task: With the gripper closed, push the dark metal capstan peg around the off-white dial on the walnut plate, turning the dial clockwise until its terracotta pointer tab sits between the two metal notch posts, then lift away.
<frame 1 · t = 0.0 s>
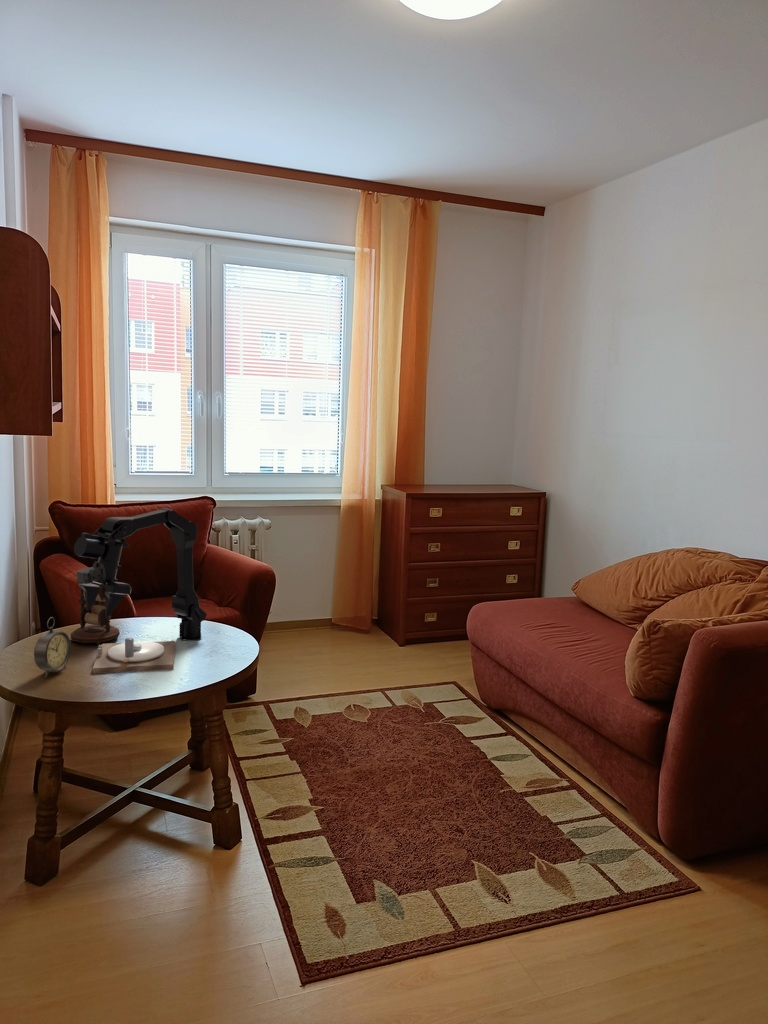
hand: (97, 612, 210), 15 cm above the table, tool pointing down, fingers open, 9 cm apart
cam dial: (135, 643, 216), point 5 cm above the table, hinge at 75.0°
wooden thread spool stand: (95, 640, 233), on the table
stand plate: (136, 658, 218), on the table
alarm clock: (52, 673, 203), on the table
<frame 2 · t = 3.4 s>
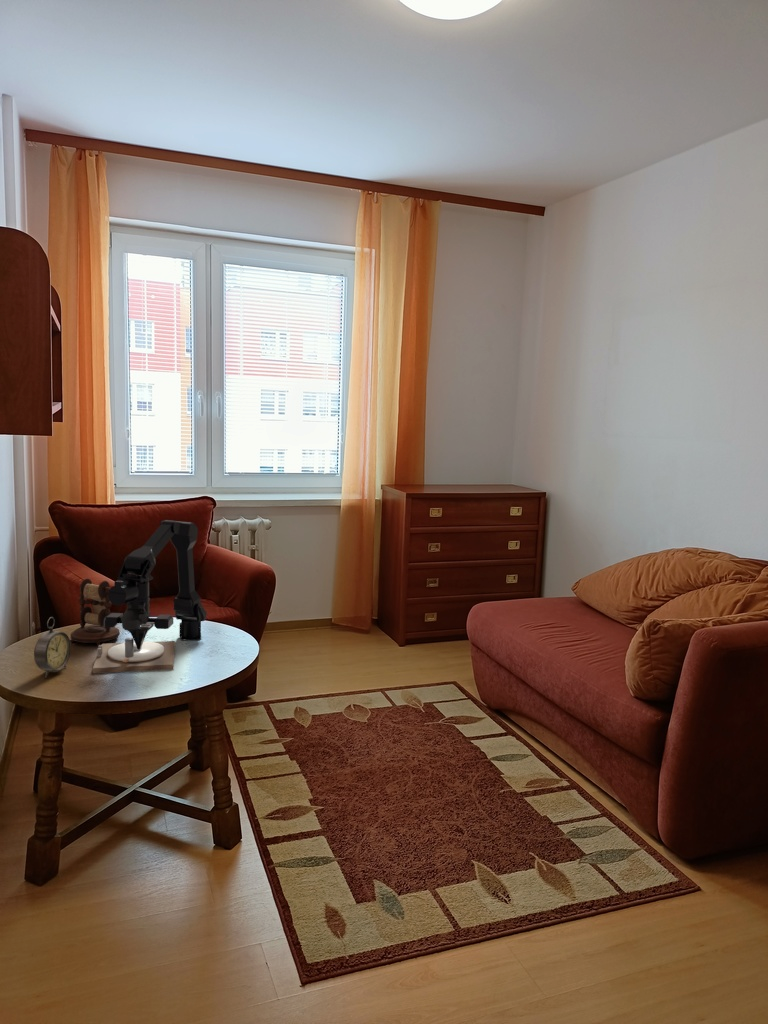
hand: (139, 649, 211), 5 cm above the table, tool pointing down, fingers closed
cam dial: (135, 643, 216), point 5 cm above the table, hinge at 74.9°, touching gripper
everything else where it was.
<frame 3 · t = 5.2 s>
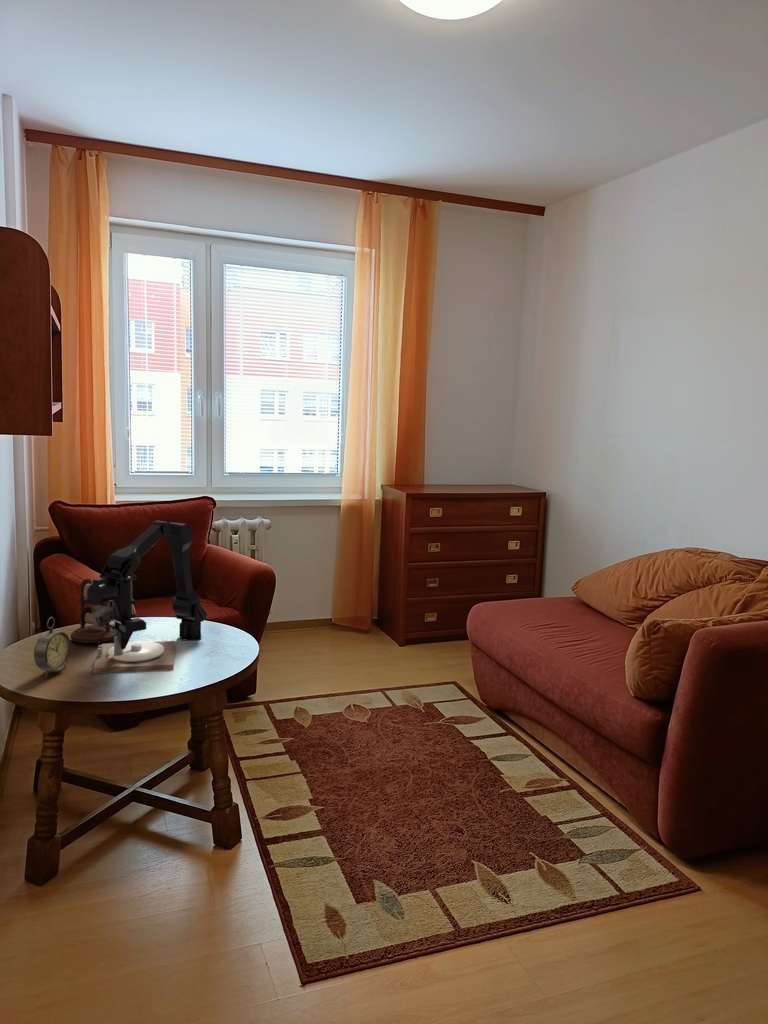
hand: (123, 648, 210), 5 cm above the table, tool pointing down, fingers closed
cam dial: (134, 643, 216), point 5 cm above the table, hinge at 37.5°, touching gripper
everything else where it was.
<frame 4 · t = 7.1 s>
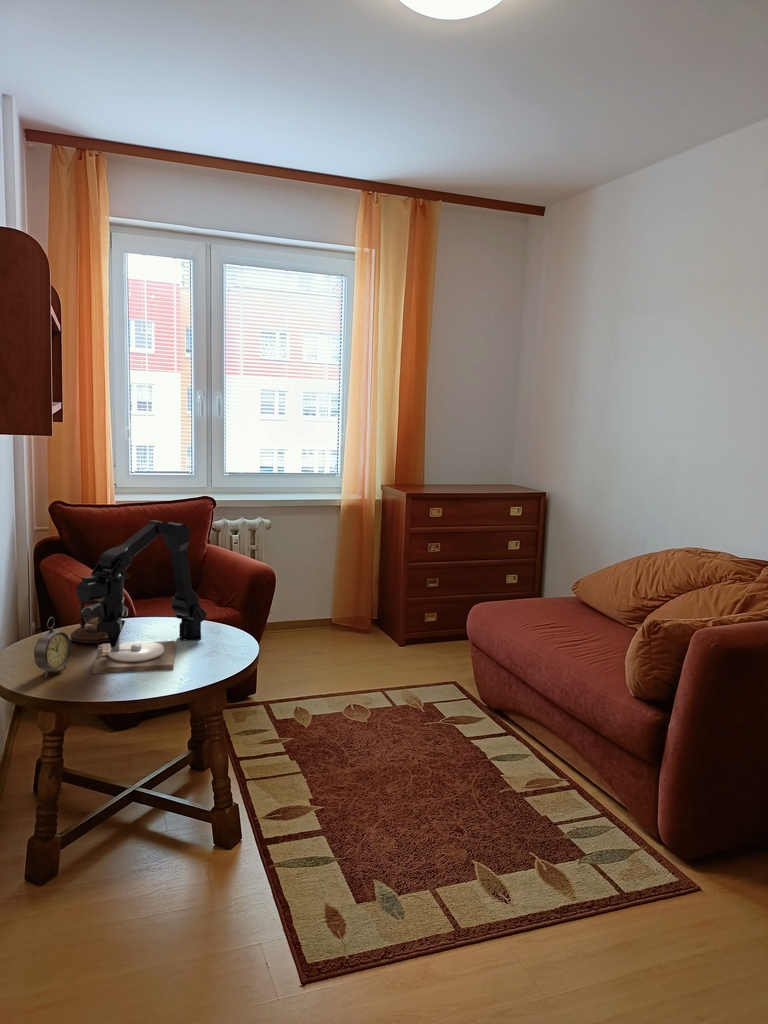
hand: (113, 646, 212), 5 cm above the table, tool pointing down, fingers closed
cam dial: (133, 642, 217), point 5 cm above the table, hinge at 1.2°
everything else where it was.
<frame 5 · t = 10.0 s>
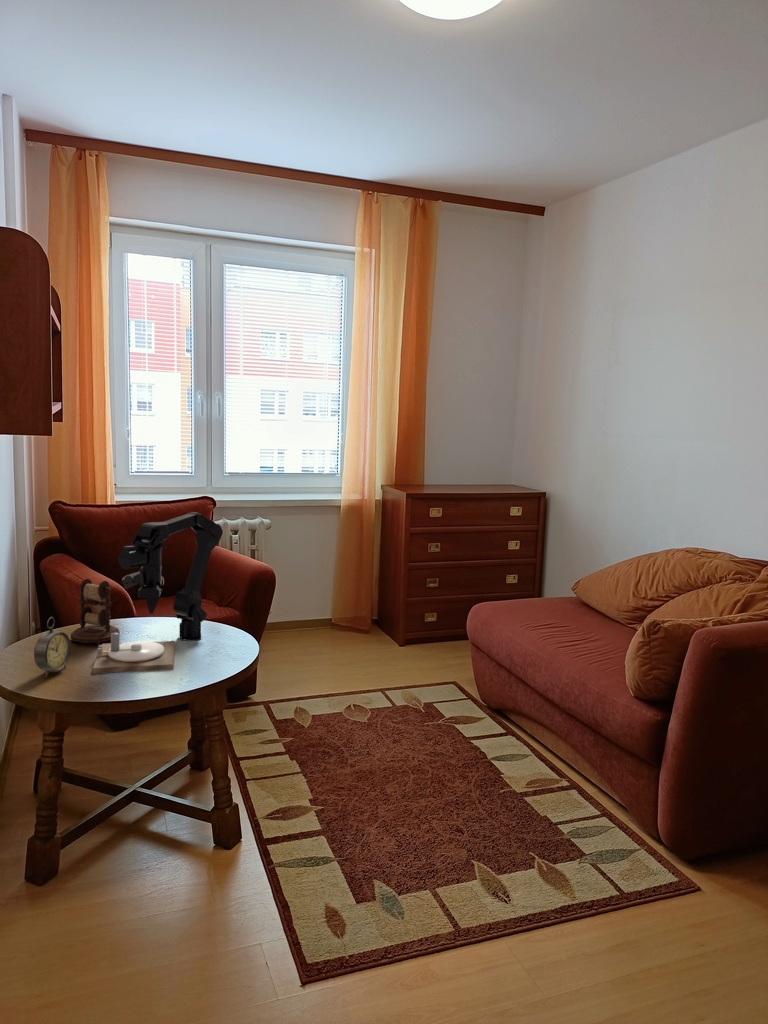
hand: (151, 613, 224), 12 cm above the table, tool pointing down, fingers closed
nothing on the table moved.
at the end: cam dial at +1° (first picture: +75°); alarm clock moved 0.2 cm from its start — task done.
